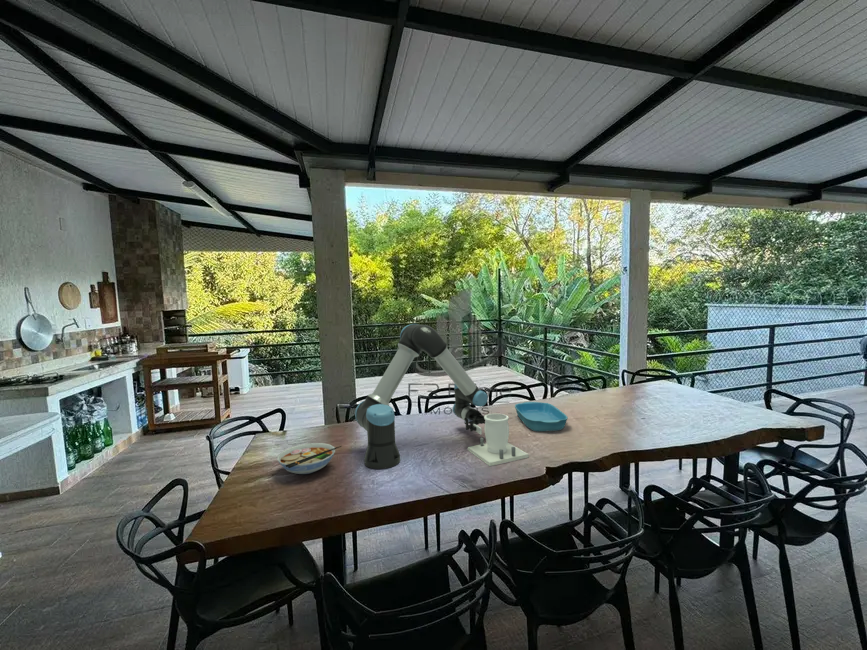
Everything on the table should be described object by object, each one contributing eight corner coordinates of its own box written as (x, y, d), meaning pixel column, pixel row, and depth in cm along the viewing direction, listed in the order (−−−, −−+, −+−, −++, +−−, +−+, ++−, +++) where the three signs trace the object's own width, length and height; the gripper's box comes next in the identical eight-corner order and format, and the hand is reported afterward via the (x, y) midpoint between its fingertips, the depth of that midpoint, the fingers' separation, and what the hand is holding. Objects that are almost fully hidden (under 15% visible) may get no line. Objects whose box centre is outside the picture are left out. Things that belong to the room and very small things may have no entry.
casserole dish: (574, 433, 191) (574, 419, 190) (530, 436, 189) (529, 421, 189) (548, 412, 227) (547, 400, 227) (510, 414, 226) (510, 402, 226)
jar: (483, 454, 164) (482, 420, 163) (486, 445, 175) (485, 412, 174) (509, 455, 162) (508, 420, 161) (509, 446, 172) (509, 413, 171)
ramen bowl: (317, 454, 175) (316, 436, 175) (349, 466, 161) (348, 447, 160) (264, 474, 156) (263, 454, 155) (295, 490, 141) (293, 468, 141)
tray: (489, 466, 156) (489, 454, 156) (467, 450, 173) (467, 439, 173) (528, 457, 163) (528, 446, 163) (503, 442, 181) (503, 432, 180)
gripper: (493, 419, 194) (518, 432, 175) (449, 427, 185) (469, 441, 165) (493, 405, 194) (518, 416, 174) (448, 412, 184) (469, 424, 165)
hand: (494, 428), depth 170 cm, fingers open, 13 cm apart
